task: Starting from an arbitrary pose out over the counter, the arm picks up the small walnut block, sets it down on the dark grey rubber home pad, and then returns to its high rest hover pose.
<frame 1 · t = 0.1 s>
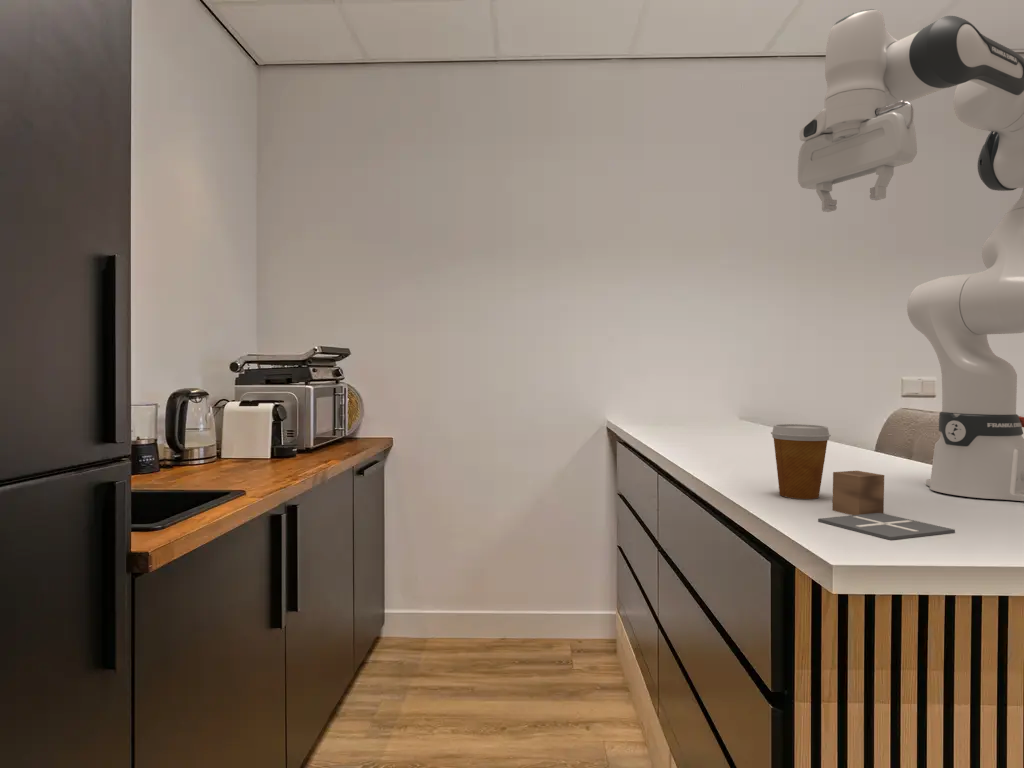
hand: (852, 205, 116), 48 cm above the table, fingers open, 8 cm apart
disposable coffee cup: (799, 497, 125), on the table
walnut block: (857, 512, 112), on the table
home pad: (884, 526, 101), on the table
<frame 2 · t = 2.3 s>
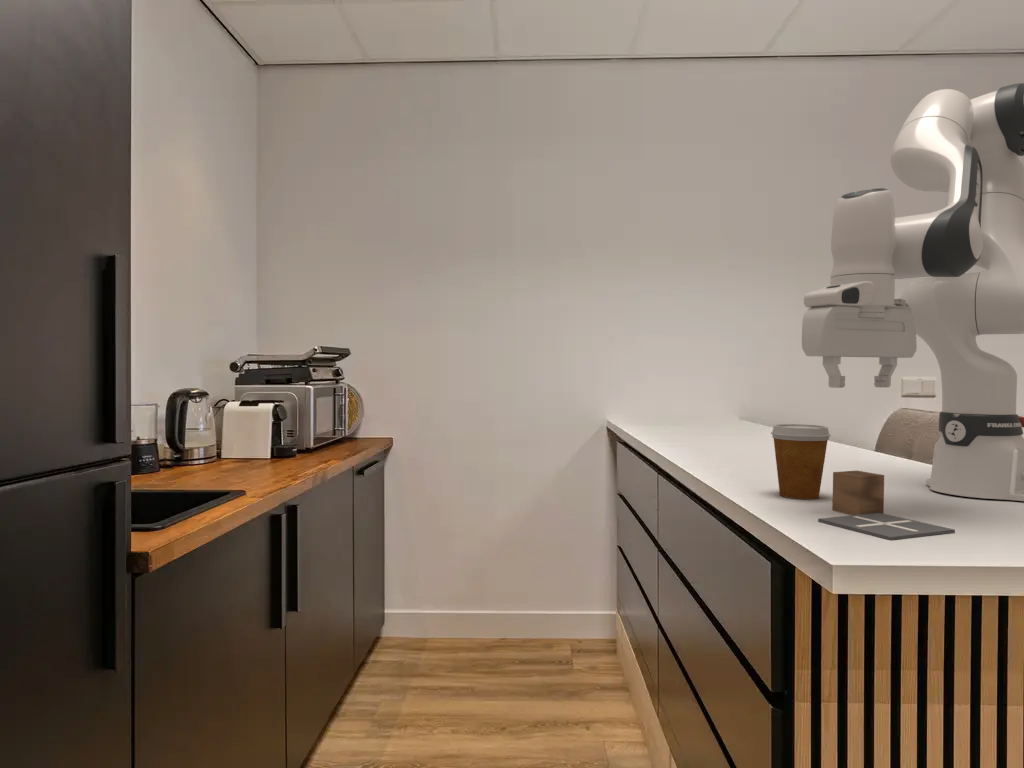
hand: (859, 387, 111), 19 cm above the table, fingers open, 8 cm apart
nothing on the table moved.
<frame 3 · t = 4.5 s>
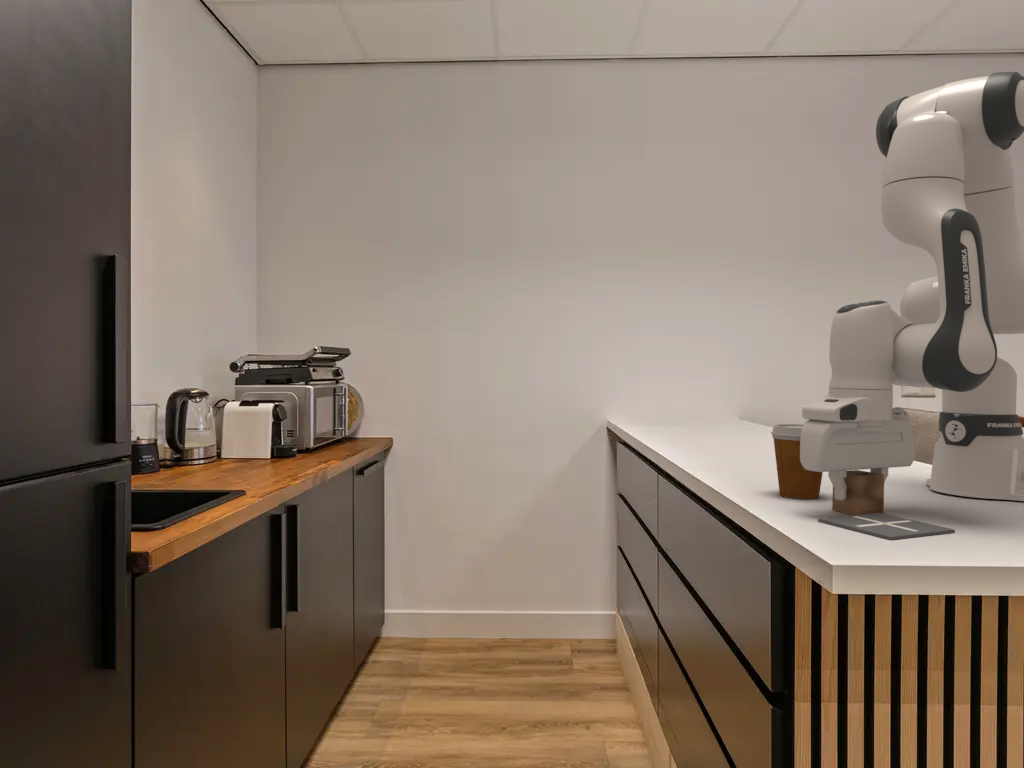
hand: (858, 498, 112), 2 cm above the table, fingers closed on walnut block, 5 cm apart
walnut block: (857, 512, 112), on the table, touching gripper
everything else where it was.
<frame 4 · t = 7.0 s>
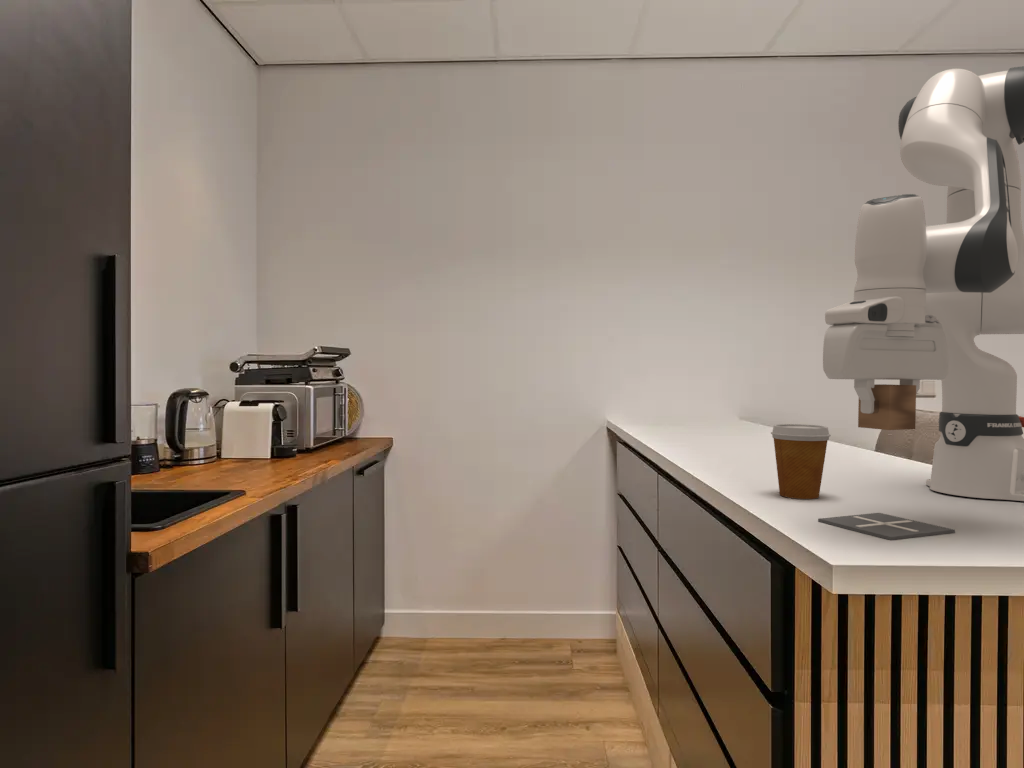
hand: (886, 413, 101), 16 cm above the table, fingers closed on walnut block, 5 cm apart
walnut block: (886, 428, 101), point 14 cm above the table, touching gripper
everything else where it was.
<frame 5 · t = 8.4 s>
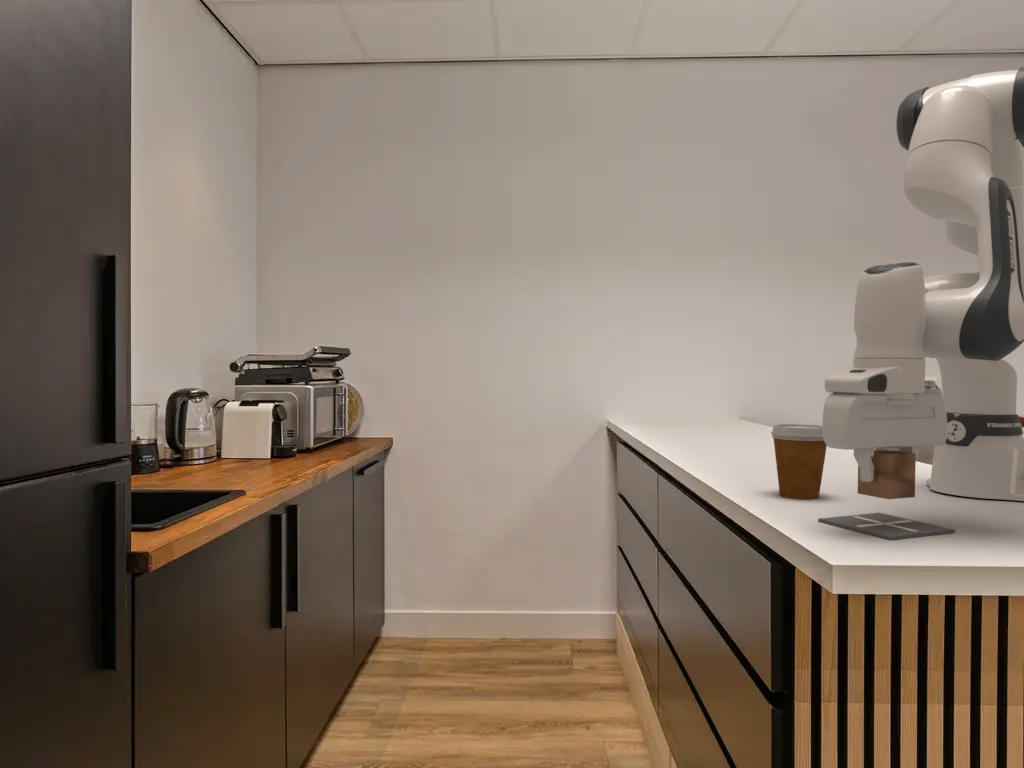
hand: (886, 480, 101), 7 cm above the table, fingers closed on walnut block, 5 cm apart
walnut block: (885, 495, 101), point 4 cm above the table, touching gripper
everything else where it was.
when the fingers open (4 cm above the table, at t = 9.4 s): walnut block drops 1 cm, resting on home pad.
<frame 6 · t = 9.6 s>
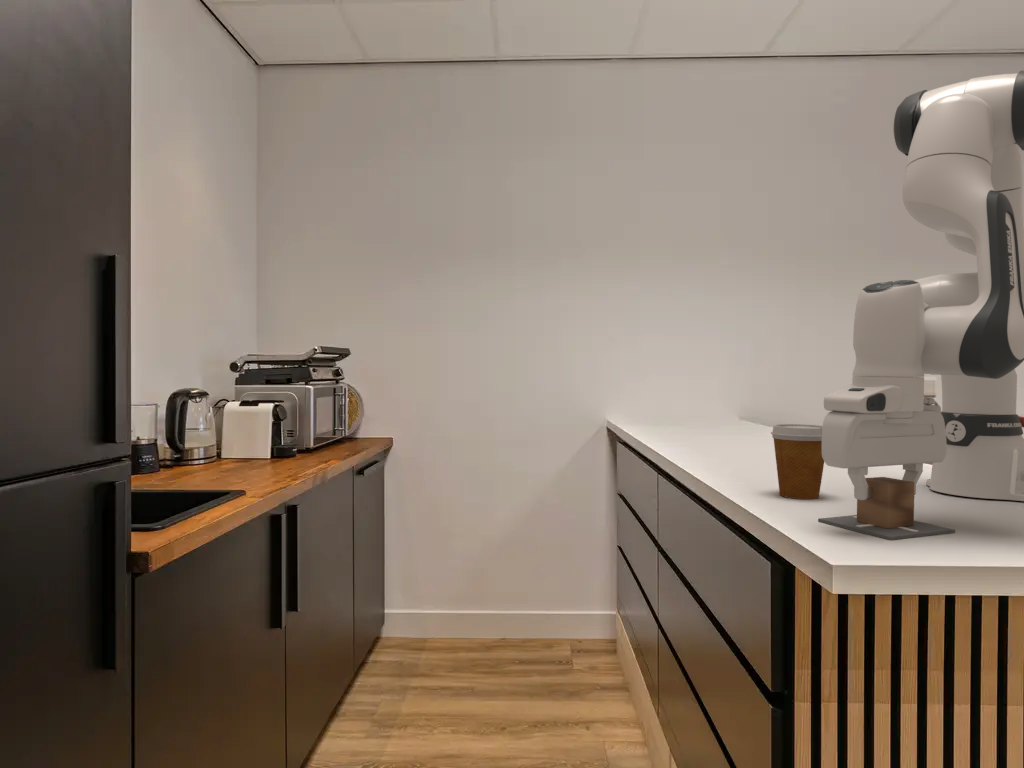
hand: (885, 497, 101), 4 cm above the table, fingers open, 7 cm apart
walnut block: (884, 523, 101), resting on home pad
everything else where it was.
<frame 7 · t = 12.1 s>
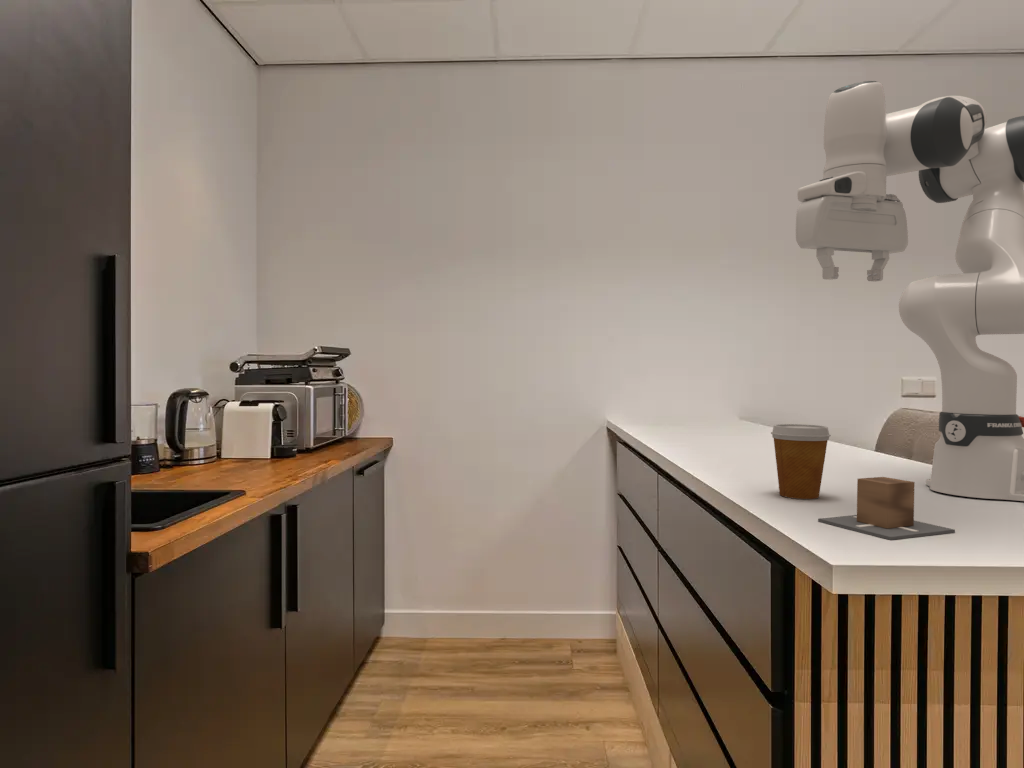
hand: (853, 280, 113), 36 cm above the table, fingers open, 8 cm apart
nothing on the table moved.
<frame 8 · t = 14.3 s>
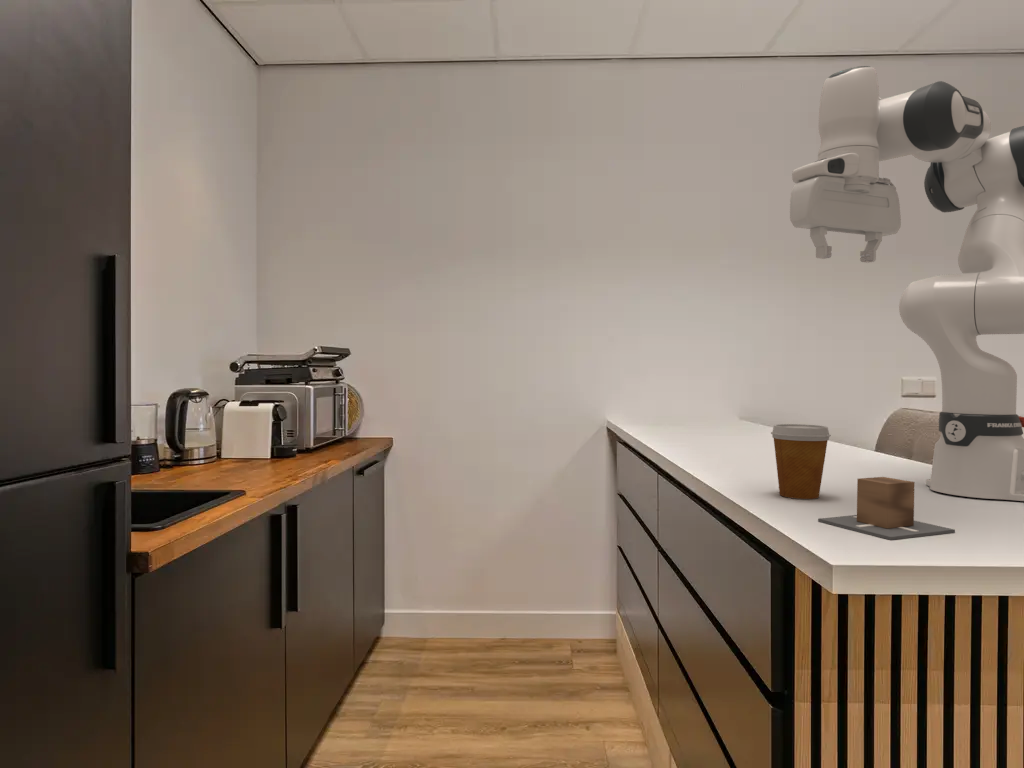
hand: (846, 260, 116), 39 cm above the table, fingers open, 8 cm apart
nothing on the table moved.
at the end: walnut block inside the target area on the home pad (0.1 cm from its centre), point 0.5 cm above the home pad's base; walnut block tilted 0°; the gripper is holding nothing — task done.
